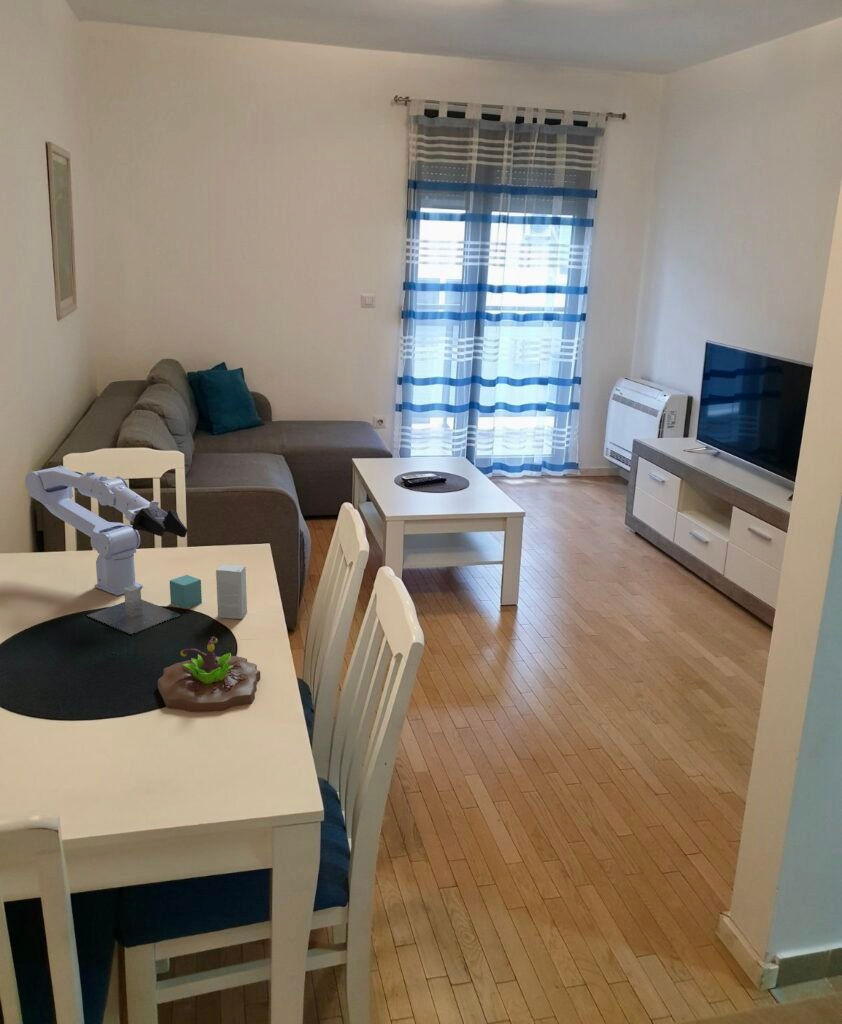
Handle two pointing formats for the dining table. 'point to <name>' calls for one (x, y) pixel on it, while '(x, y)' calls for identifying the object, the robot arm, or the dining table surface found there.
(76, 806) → the dining table surface
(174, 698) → the plant
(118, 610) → the dark grey square tile
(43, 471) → the robot arm
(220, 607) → the skincare box
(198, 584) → the teal box
